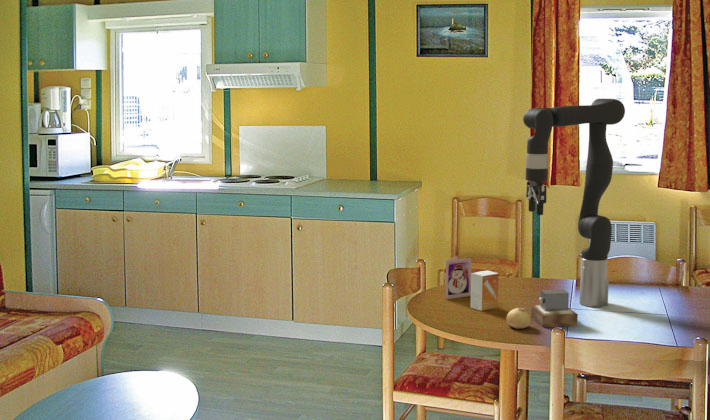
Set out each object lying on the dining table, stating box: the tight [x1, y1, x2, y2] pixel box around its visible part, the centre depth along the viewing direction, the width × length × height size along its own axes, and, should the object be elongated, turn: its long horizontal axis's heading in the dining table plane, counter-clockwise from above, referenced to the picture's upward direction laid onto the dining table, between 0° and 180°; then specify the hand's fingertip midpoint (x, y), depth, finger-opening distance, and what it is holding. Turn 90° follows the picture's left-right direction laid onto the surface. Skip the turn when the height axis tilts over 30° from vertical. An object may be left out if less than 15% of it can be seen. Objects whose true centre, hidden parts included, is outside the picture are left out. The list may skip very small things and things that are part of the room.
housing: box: [538, 289, 570, 311], centre depth 273 cm, size 9×5×6 cm, turn 96°
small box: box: [470, 269, 500, 312], centre depth 291 cm, size 8×6×13 cm
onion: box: [505, 306, 532, 330], centre depth 268 cm, size 8×8×7 cm
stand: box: [530, 304, 578, 328], centre depth 274 cm, size 12×12×4 cm
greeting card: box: [445, 255, 472, 300], centre depth 308 cm, size 11×7×15 cm, turn 115°
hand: (535, 213), depth 279 cm, fingers open, 8 cm apart
